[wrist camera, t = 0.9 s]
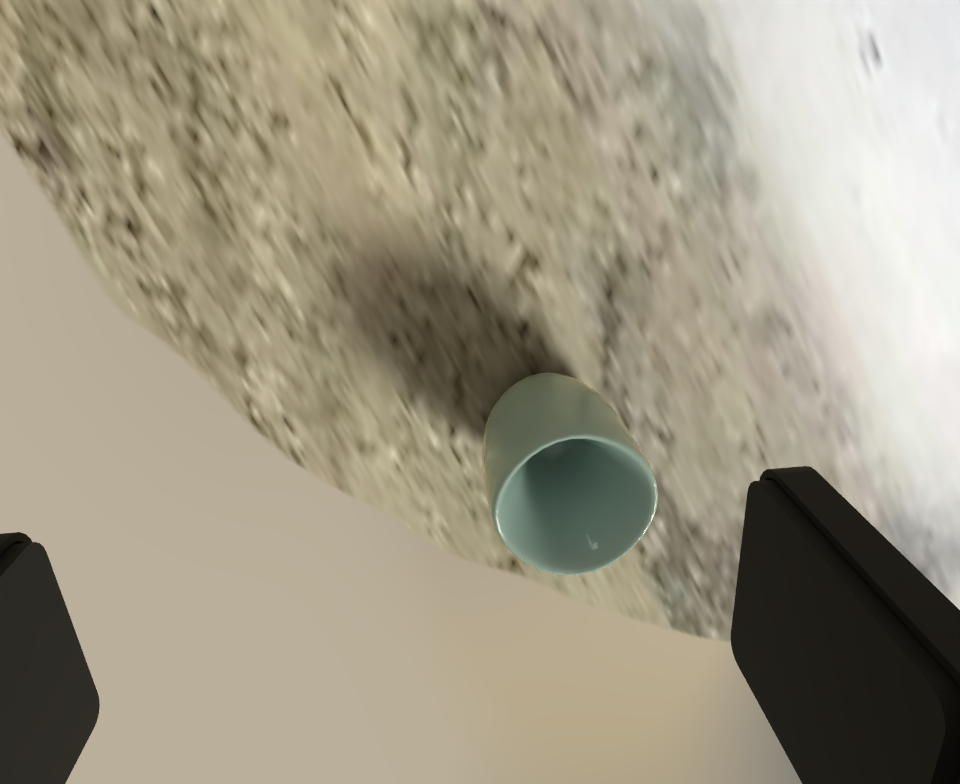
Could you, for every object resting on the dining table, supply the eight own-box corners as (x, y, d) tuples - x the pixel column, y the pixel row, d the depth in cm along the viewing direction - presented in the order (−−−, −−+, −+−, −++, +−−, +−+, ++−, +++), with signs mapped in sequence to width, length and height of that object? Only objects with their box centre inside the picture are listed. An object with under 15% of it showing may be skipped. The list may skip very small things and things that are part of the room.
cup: (450, 428, 41) (458, 524, 32) (535, 329, 39) (570, 401, 30) (548, 495, 44) (582, 602, 35) (632, 405, 42) (692, 492, 33)
